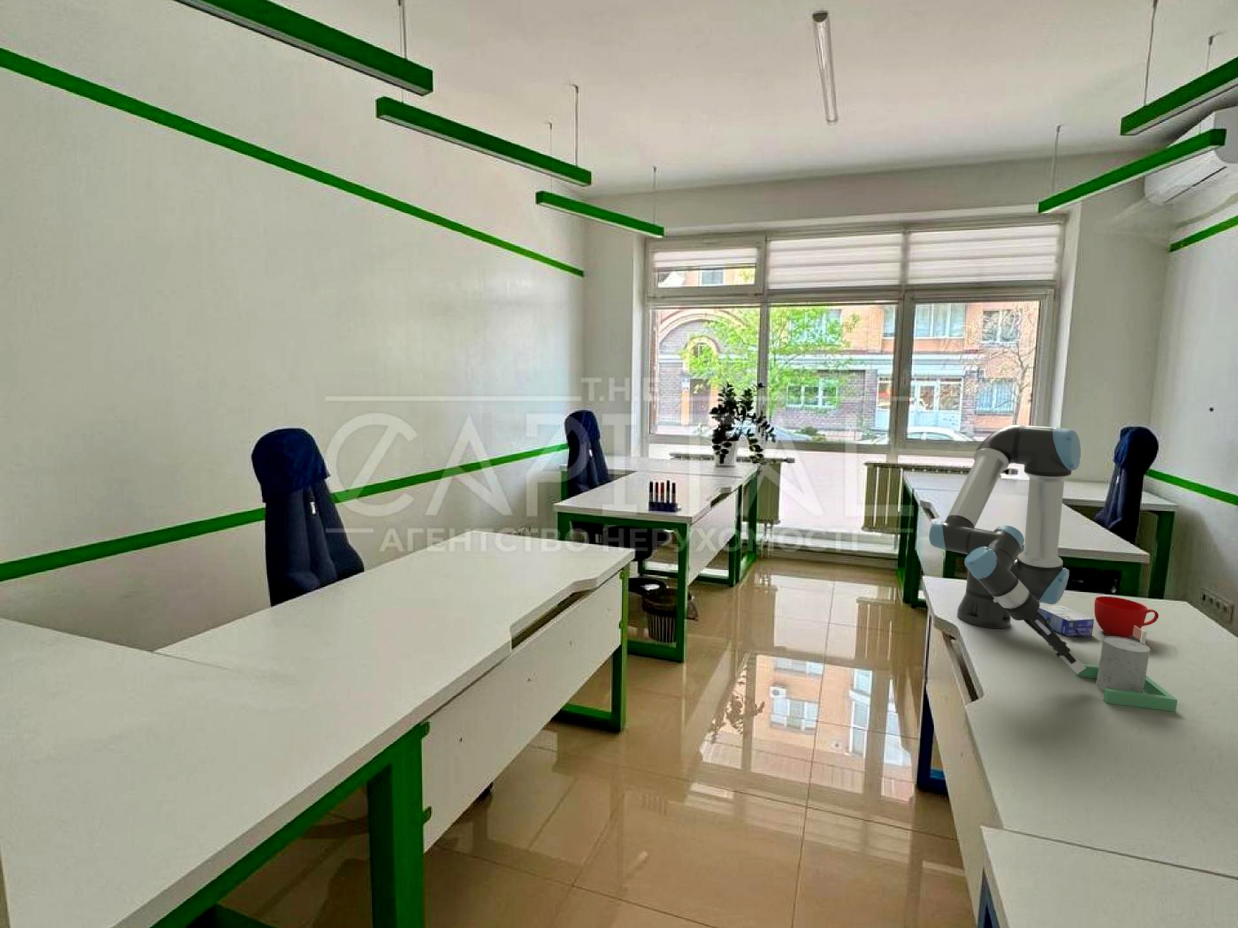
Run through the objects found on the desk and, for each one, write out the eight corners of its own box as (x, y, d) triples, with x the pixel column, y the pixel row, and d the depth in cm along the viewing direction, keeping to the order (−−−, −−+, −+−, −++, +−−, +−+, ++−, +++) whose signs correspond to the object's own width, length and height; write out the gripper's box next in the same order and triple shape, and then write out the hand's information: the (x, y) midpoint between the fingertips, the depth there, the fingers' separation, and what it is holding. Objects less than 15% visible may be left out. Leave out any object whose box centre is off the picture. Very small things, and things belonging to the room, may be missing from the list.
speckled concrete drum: (1145, 703, 157) (1153, 655, 155) (1097, 691, 162) (1104, 645, 160) (1140, 687, 165) (1147, 642, 163) (1094, 677, 170) (1100, 633, 168)
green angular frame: (1069, 667, 175) (1076, 618, 173) (1130, 674, 172) (1138, 625, 170) (1106, 702, 156) (1114, 648, 154) (1175, 711, 153) (1184, 655, 151)
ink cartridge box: (1033, 622, 209) (1072, 639, 194) (1035, 606, 208) (1074, 622, 194) (1059, 621, 210) (1100, 637, 196) (1061, 604, 210) (1102, 620, 196)
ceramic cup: (1167, 646, 192) (1172, 614, 191) (1104, 639, 196) (1108, 608, 194) (1142, 629, 205) (1146, 599, 204) (1082, 624, 208) (1086, 594, 207)
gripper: (994, 600, 172) (1055, 667, 171) (1013, 617, 159) (1079, 689, 158) (1019, 583, 170) (1080, 650, 169) (1039, 599, 158) (1106, 672, 156)
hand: (1080, 669), depth 164 cm, fingers closed
